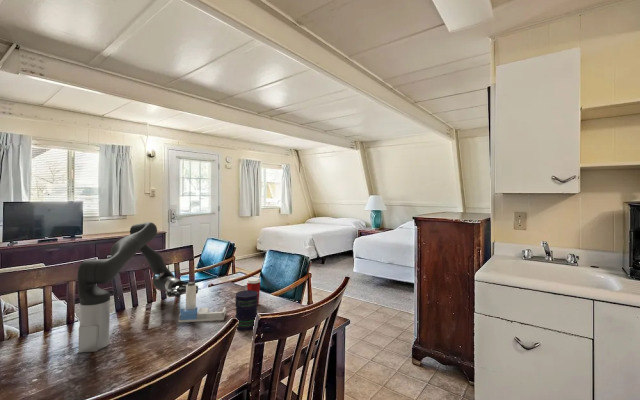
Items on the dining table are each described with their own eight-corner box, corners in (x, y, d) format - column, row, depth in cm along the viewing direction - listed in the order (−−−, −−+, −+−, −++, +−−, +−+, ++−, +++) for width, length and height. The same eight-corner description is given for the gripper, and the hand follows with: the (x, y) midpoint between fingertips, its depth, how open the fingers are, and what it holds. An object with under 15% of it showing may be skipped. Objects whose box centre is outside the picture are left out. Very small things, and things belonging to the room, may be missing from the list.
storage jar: (251, 332, 128) (252, 297, 128) (230, 330, 130) (231, 296, 130) (260, 323, 138) (261, 291, 138) (241, 321, 140) (241, 289, 140)
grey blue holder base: (223, 319, 141) (223, 306, 141) (178, 322, 137) (178, 309, 137) (225, 313, 149) (225, 301, 149) (183, 315, 145) (183, 303, 145)
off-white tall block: (194, 318, 140) (195, 284, 140) (183, 318, 139) (184, 284, 139) (196, 314, 145) (197, 281, 145) (186, 314, 144) (187, 281, 144)
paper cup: (262, 302, 165) (262, 277, 165) (257, 307, 158) (258, 281, 158) (248, 302, 166) (248, 276, 166) (243, 306, 158) (244, 280, 158)
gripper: (160, 281, 150) (172, 288, 139) (189, 276, 161) (202, 283, 150) (160, 296, 150) (172, 304, 139) (188, 290, 161) (202, 297, 150)
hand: (188, 293), depth 144 cm, fingers open, 8 cm apart
